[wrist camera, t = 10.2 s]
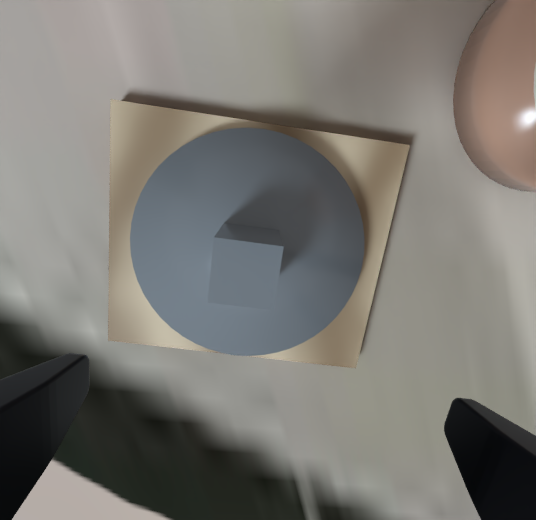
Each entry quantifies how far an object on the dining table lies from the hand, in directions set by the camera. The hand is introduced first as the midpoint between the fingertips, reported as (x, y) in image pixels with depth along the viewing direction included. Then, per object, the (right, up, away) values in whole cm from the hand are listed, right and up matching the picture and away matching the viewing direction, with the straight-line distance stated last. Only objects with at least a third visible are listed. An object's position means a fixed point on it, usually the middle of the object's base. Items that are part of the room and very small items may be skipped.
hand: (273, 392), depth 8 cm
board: (-1, +4, +12) cm, 13 cm away
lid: (-1, +4, +11) cm, 12 cm away
